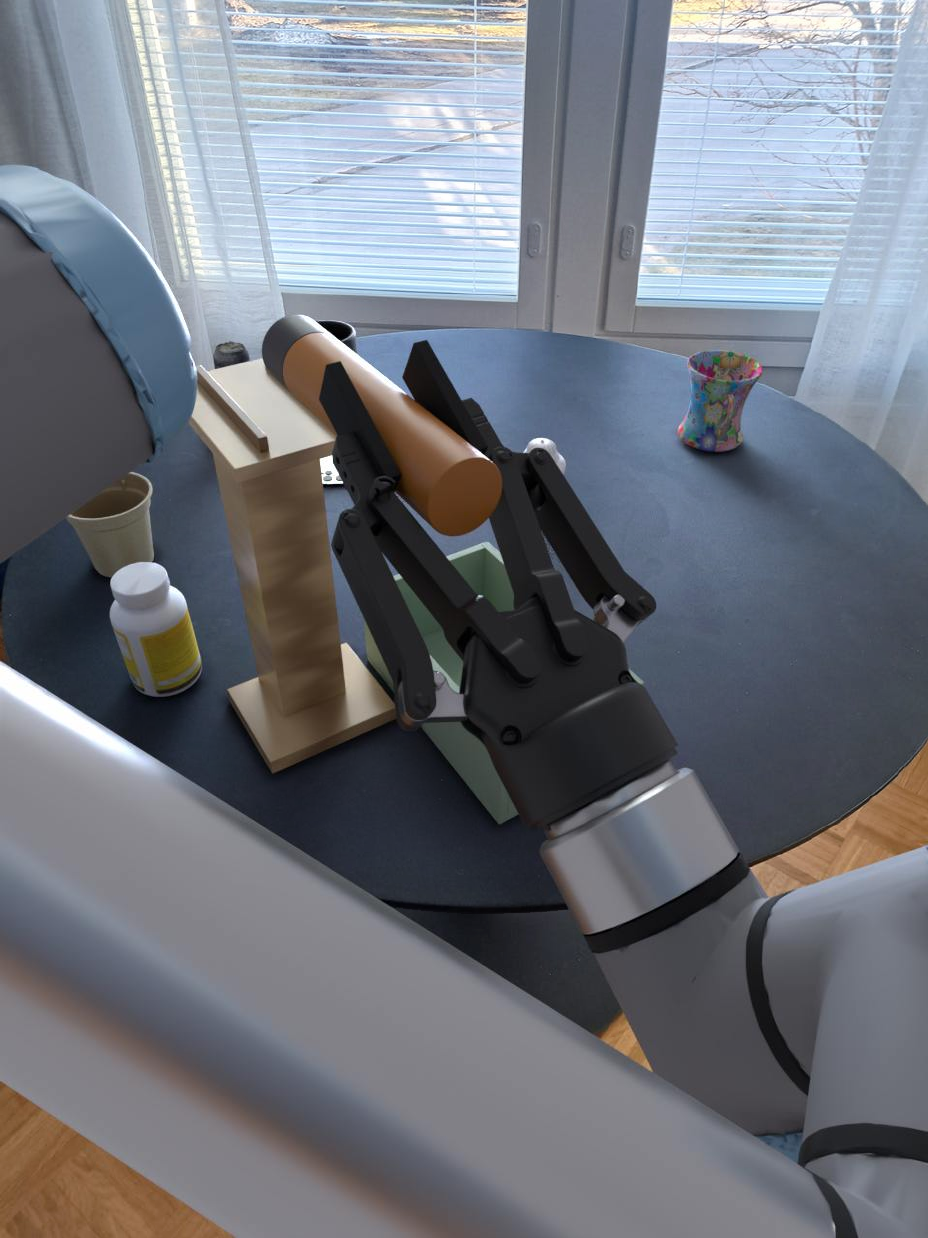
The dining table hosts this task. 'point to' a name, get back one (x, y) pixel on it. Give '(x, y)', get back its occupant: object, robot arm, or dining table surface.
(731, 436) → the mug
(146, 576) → the pill bottle
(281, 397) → the stand
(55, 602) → the dining table surface
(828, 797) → the dining table surface
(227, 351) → the dark grey pillar
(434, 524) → the orange brown cylinder
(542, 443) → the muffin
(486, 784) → the bin
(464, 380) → the dining table surface
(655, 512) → the dining table surface
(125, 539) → the flower pot
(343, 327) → the mug
